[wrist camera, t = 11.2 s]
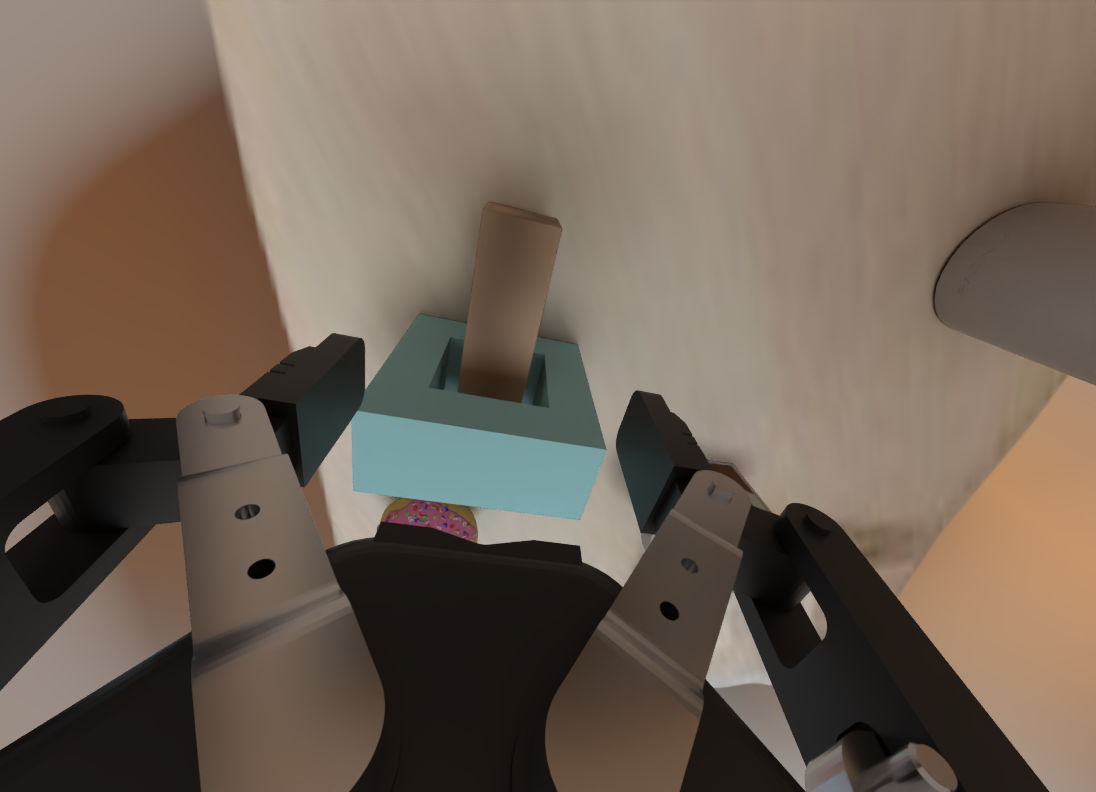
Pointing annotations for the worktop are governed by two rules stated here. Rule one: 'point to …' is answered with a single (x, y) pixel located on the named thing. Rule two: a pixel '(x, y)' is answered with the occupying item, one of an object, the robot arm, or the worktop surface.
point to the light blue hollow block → (477, 429)
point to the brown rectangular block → (507, 300)
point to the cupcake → (433, 516)
